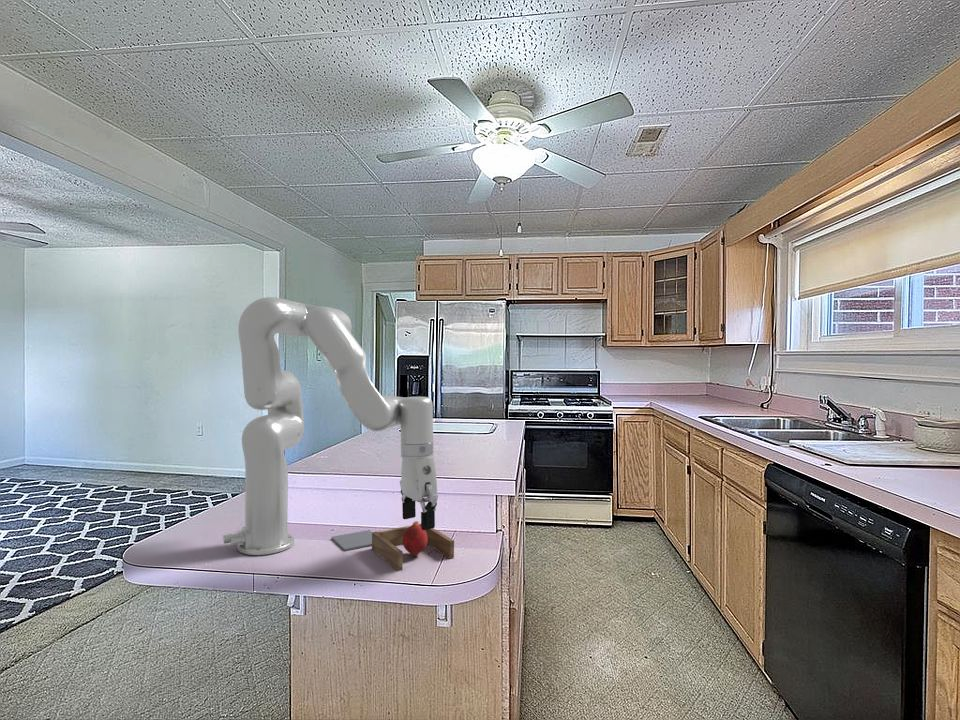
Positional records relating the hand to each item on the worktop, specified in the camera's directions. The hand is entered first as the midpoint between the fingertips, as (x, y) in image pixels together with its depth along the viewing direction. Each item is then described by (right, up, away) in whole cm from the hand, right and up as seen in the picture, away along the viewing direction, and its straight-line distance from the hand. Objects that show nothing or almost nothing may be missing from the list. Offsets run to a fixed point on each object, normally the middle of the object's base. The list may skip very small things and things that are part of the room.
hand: (418, 523), depth 122 cm
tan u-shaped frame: (-1, -8, +1) cm, 8 cm away
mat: (-16, -7, +9) cm, 20 cm away
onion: (-1, -8, 0) cm, 8 cm away
